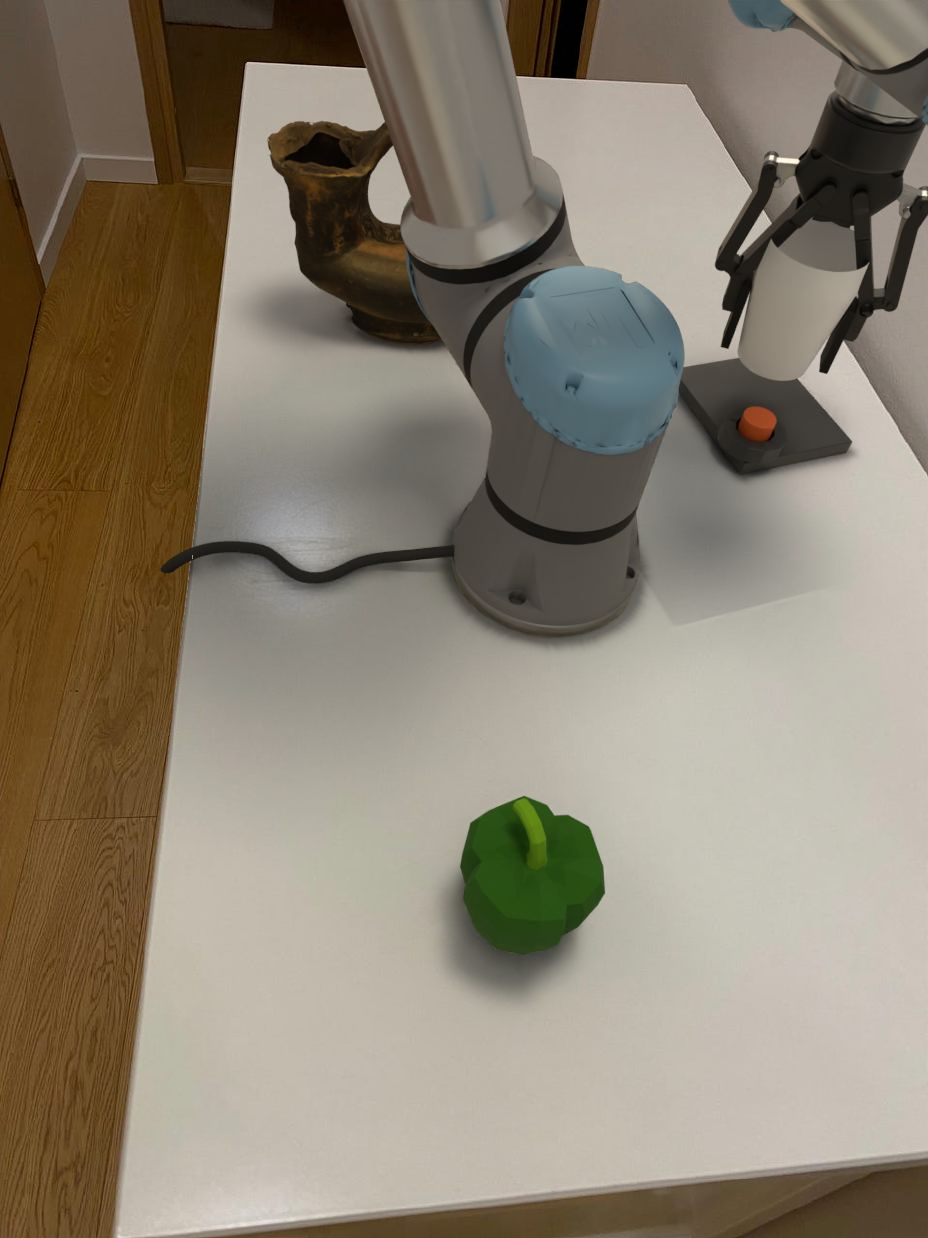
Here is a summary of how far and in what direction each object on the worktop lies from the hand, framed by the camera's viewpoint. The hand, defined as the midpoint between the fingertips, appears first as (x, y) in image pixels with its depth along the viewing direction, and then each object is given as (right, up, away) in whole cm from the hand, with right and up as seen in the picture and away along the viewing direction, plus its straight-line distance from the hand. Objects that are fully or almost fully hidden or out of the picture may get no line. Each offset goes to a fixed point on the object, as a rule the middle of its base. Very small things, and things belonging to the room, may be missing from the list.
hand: (774, 352), depth 89 cm
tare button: (-3, -8, -3) cm, 9 cm away
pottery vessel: (-35, +5, +7) cm, 37 cm away
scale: (-1, -5, +3) cm, 6 cm away
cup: (0, -1, +1) cm, 1 cm away
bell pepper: (-26, -43, -29) cm, 58 cm away
